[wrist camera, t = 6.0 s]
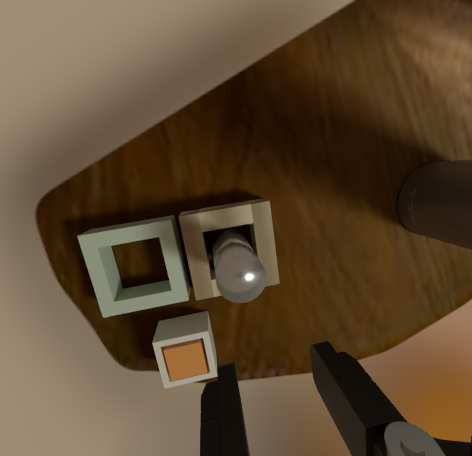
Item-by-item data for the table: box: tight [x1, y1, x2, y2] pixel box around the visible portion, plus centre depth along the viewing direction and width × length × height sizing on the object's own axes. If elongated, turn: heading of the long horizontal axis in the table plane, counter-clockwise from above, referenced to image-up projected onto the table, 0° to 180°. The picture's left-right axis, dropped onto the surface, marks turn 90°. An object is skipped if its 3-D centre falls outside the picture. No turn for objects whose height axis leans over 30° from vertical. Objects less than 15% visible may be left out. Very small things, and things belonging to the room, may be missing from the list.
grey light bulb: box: [212, 228, 267, 303], centre depth 24 cm, size 4×4×10 cm
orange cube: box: [163, 338, 207, 381], centre depth 28 cm, size 4×4×4 cm
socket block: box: [179, 198, 280, 300], centre depth 27 cm, size 9×9×3 cm
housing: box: [152, 311, 217, 388], centre depth 29 cm, size 6×6×4 cm
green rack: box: [77, 215, 190, 318], centre depth 27 cm, size 9×9×3 cm
